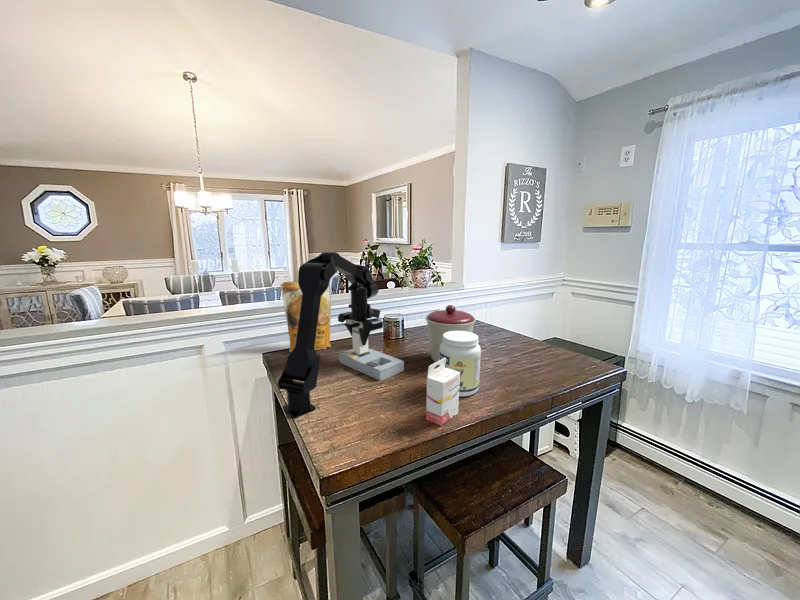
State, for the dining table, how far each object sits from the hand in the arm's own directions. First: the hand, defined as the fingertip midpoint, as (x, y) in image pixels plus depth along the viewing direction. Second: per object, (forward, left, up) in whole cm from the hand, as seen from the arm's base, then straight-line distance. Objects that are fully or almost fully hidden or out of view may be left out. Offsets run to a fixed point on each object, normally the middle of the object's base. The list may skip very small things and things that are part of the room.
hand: (360, 343), depth 120 cm
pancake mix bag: (+26, +5, -7) cm, 27 cm away
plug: (0, 0, -3) cm, 3 cm away
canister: (-22, -24, -7) cm, 33 cm away
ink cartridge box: (-43, +8, -7) cm, 45 cm away
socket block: (-5, 0, -7) cm, 9 cm away
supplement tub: (-37, -8, -7) cm, 39 cm away
